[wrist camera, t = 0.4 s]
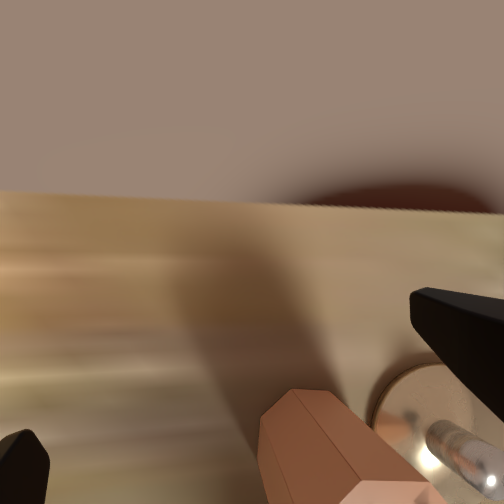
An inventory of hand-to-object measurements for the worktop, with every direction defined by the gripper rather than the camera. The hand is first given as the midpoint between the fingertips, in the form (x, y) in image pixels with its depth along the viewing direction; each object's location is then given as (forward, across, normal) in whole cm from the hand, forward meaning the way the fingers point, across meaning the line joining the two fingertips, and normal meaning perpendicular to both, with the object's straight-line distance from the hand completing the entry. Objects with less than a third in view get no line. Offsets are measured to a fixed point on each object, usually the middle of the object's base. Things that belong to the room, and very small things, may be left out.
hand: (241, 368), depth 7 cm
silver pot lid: (+7, -12, +17) cm, 22 cm away
